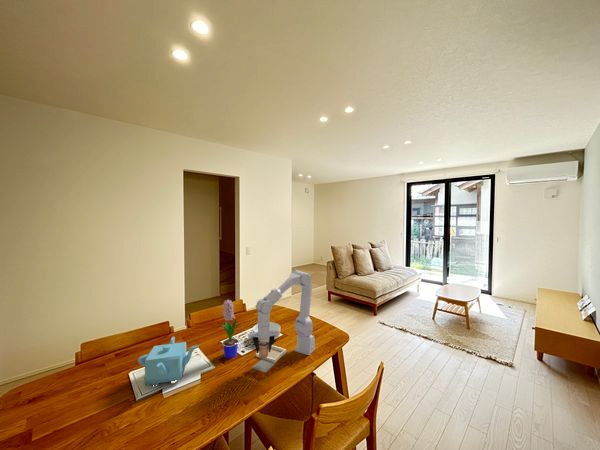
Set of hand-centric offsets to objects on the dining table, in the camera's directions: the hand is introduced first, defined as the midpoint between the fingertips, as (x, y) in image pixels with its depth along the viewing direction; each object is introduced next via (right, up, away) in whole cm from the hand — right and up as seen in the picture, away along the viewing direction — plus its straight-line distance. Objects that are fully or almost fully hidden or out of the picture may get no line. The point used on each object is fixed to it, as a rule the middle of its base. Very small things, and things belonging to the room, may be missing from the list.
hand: (263, 351), depth 115 cm
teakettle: (-42, -8, -8) cm, 43 cm away
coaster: (0, -8, 0) cm, 8 cm away
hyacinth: (-18, -7, +9) cm, 22 cm away
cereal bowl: (-2, -7, +27) cm, 28 cm away
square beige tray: (+2, -7, +10) cm, 13 cm away
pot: (0, -2, +1) cm, 2 cm away
